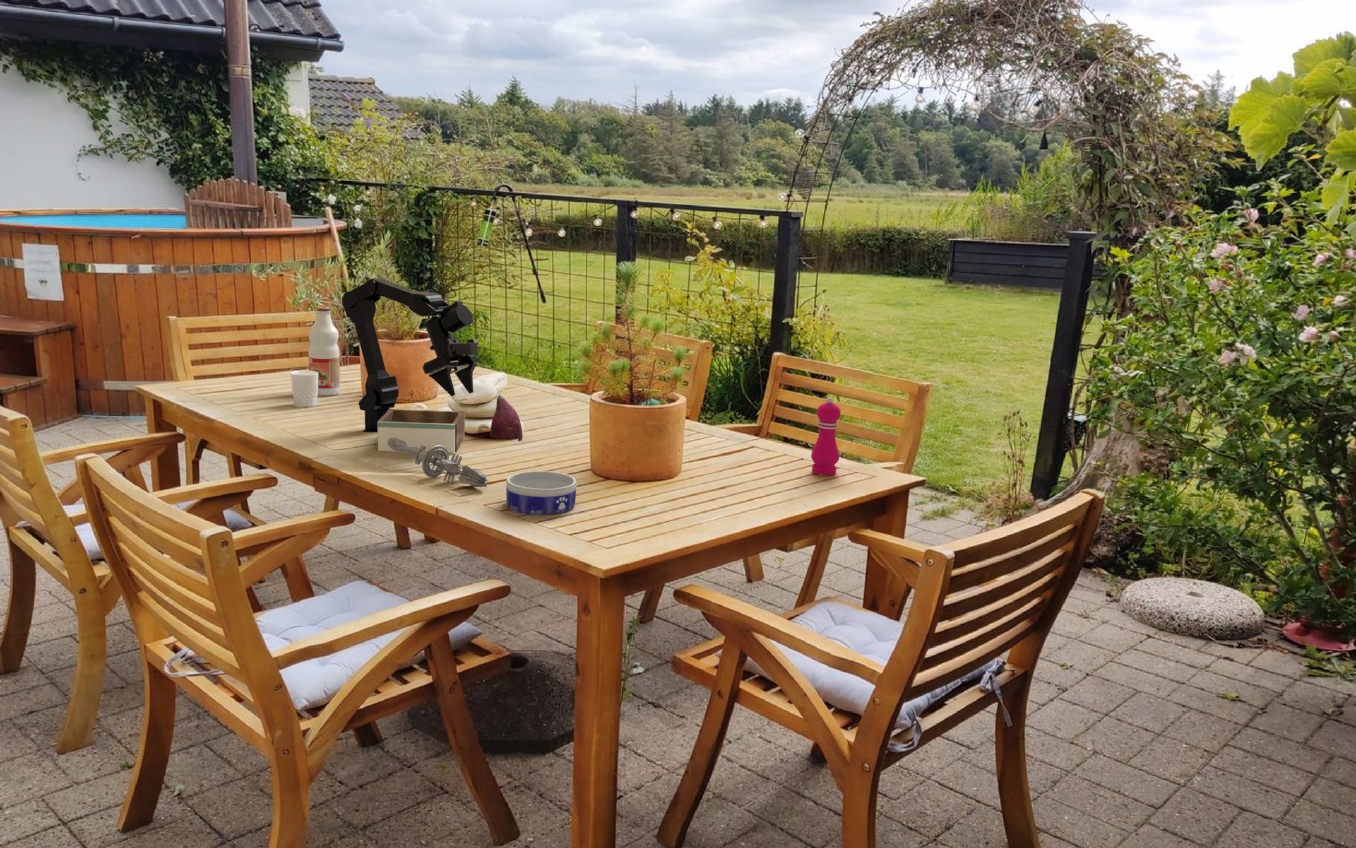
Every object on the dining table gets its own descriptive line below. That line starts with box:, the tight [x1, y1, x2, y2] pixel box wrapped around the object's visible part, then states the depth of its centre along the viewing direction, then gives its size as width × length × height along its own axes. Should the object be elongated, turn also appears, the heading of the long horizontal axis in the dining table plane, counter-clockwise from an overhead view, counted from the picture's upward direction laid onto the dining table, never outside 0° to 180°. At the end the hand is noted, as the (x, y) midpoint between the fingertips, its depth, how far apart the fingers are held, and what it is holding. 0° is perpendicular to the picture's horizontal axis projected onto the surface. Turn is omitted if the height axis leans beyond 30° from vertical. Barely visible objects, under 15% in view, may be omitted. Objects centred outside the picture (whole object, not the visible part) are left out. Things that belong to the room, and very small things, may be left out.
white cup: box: [290, 370, 319, 408], centre depth 314 cm, size 8×8×10 cm
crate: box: [376, 408, 466, 453], centre depth 272 cm, size 20×16×8 cm
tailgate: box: [377, 421, 456, 454], centre depth 263 cm, size 19×1×8 cm, turn 94°
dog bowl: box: [505, 470, 577, 516], centre depth 227 cm, size 15×15×6 cm
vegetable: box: [489, 394, 523, 442], centre depth 285 cm, size 10×9×14 cm
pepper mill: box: [810, 396, 842, 476], centre depth 265 cm, size 7×7×20 cm
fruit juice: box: [308, 305, 341, 397], centre depth 331 cm, size 9×9×28 cm
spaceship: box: [387, 438, 490, 488], centre depth 244 cm, size 8×35×8 cm
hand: (462, 394), depth 271 cm, fingers open, 9 cm apart
